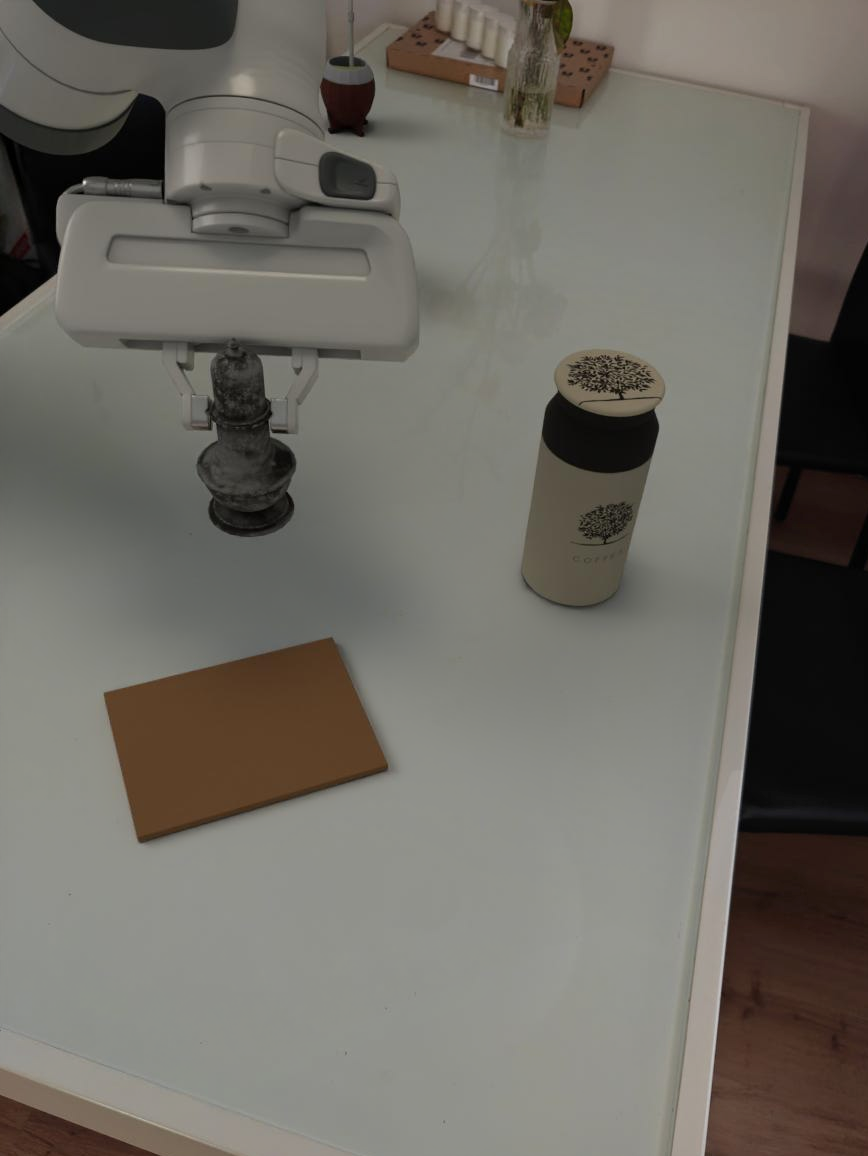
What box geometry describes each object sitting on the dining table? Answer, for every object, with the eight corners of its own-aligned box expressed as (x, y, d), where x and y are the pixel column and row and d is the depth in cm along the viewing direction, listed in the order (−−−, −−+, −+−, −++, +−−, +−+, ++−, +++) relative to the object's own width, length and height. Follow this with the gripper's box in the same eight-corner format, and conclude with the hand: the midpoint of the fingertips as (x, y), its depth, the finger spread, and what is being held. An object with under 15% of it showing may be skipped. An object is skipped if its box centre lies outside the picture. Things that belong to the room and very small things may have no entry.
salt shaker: (185, 500, 64) (156, 328, 55) (266, 467, 67) (251, 298, 58) (235, 553, 61) (213, 380, 52) (317, 516, 64) (310, 346, 55)
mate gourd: (343, 143, 133) (341, 13, 122) (307, 121, 137) (302, -6, 126) (388, 131, 137) (390, 4, 126) (351, 110, 141) (350, -15, 130)
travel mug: (516, 538, 84) (544, 343, 71) (611, 540, 85) (657, 347, 71) (525, 608, 78) (558, 411, 65) (627, 609, 79) (680, 415, 66)
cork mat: (138, 843, 62) (137, 837, 62) (104, 698, 69) (103, 692, 69) (388, 769, 67) (388, 764, 67) (332, 641, 75) (332, 636, 74)
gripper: (37, 150, 54) (35, 414, 55) (424, 175, 56) (418, 429, 57) (73, 196, 60) (71, 432, 61) (420, 216, 62) (415, 445, 63)
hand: (241, 431), depth 59 cm, fingers closed on salt shaker, 3 cm apart
